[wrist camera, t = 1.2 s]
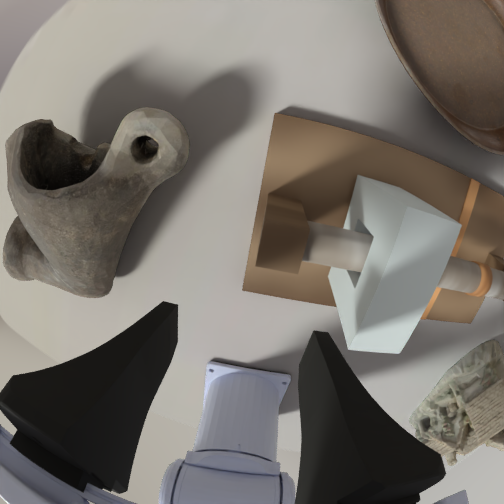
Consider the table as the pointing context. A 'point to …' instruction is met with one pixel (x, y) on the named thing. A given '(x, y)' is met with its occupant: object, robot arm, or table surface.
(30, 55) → the table surface
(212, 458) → the robot arm
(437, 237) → the collar
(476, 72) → the plant saucer
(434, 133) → the table surface
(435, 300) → the rod stand
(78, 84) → the table surface
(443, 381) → the ceramic cottage
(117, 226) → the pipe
